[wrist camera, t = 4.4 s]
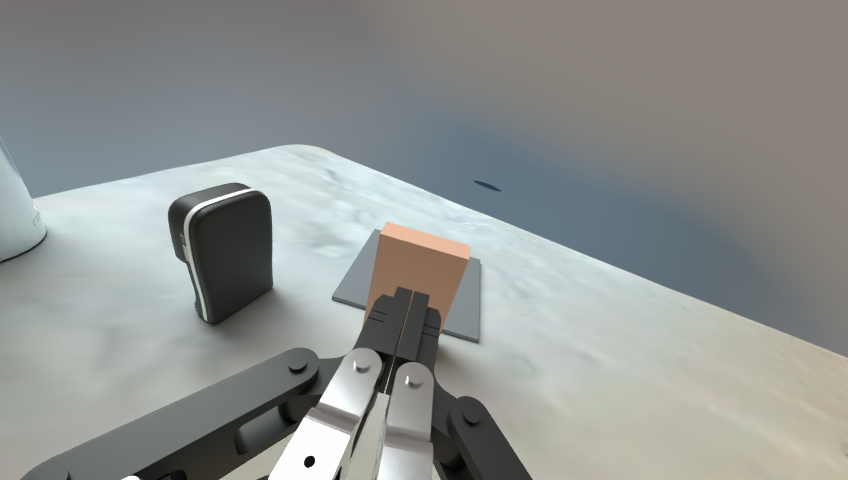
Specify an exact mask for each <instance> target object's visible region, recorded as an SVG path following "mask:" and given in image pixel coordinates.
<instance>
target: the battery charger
mask: <svg viewBox="0 0 848 480" xmlns="http://www.w3.org/2000/svg"><path fill="white" fill-rule="evenodd" d="M168 222H169V228H170V233H171V238H172V243H173V246H174V250H175V254H176V256H177V258H179V259H180V260H181V261H183V262H184V263H186V264H187V267H188V270H189V274H190V277H191V280H192V283H193V286H194V290H195V294H196V302H195V308H196V311H197V312H198V313H199V315H200V316H202V317H203V318H204V320H206V321H207V322H211V323H217V322H219V321H220V320H222V319H223V318H225V317H227V316H228V315H230V314H232V313H233V312H235V311H236V310H238V309H239V308H241V307H243V306H244V305H246V304H247V303H249V302H250V301H252V300H253V299H255V298H256V297H258V296H259V295H261V294H262V293H264V292H265V291H266V290H268V289H269V288H271V287H272V286H273V276H272V216H271V206H270V202H269V200H268V198H267V197H266V196H265V195H264V194H263V193H262V192H261V191H259V190H256V189H252V188H250V187H248V186H246V185H244V184H241V183H229V184H224V185H220V186H216V187H212V188H208V189H205V190H201V191H198V192H195V193H191V194H188V195H185V196H183V197H180V198H178V199H177V200H175V201H174V202H173V203H172V205H171V206H170V208H169V211H168Z"/></svg>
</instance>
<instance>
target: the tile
mask: <svg viewBox="0 0 848 480" xmlns="http://www.w3.org/2000/svg"><path fill="white" fill-rule="evenodd" d="M469 253H470V246H468V245H465V244H462V243H458V242H455V241H451V240H448V239H444V238H441V237H438V236H434V235H431V234H427V233H424V232H420V231H417V230H414V229H410V228H407V227H403V226H400V225H396V224H393V223H390V222H386V224H385V226H384V228H383V229H382V231H381V233H380V236H379V241H378V247H377V252H376V257H375V263H374V268H373V274H372V279H371V285H370V290H369V295H368V301H367V306H366V312H365V317H364V323H363V326H364V324H365V322H366V320H367V318H368V315H369V313H370V311H371V308H372V306H373V304H374V302H375V300H376V299H378V298H379V297H380V296H381V295H383V294H385V295H388V296H392V297H394V294H395V292H396V289H397V287H398V286H399V287H403V288H406V289H410V290H413V293H412V297H411V301H412V298H413V294H414V291H417V292H421V293H424V294H428V295H430V297H429V302H428V306H427V307H431V308H434V309H438V310H439V313H440V316H441V319H442V320H441V327H440V333H441V331H442V328H443V326H444V323H445V320H446V318H447V315H448V313H449V310H450V308H451V305H452V302H453V300H454V297H455V295H456V292H457V289H458V287H459V284H460V282H461V279H462V277H463V274H464V271H465V269H466V266H467V264H468V261H469ZM411 301H410V304H411ZM410 304H409V308H410ZM409 308H408V311H409ZM407 315H408V312H407ZM406 318H407V316H406ZM405 321H406V319H405ZM404 325H405V323H404ZM403 328H404V326H403ZM402 332H403V330H402ZM440 333H439V336H440ZM401 335H402V333H401ZM400 338H401V336H400ZM399 342H400V340H399ZM398 345H399V343H398ZM397 348H398V347H397Z"/></svg>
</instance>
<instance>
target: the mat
mask: <svg viewBox="0 0 848 480" xmlns="http://www.w3.org/2000/svg"><path fill="white" fill-rule="evenodd" d="M380 233H381V231H380V230H377V229H375V230H374V231H373V233H372V234H371V236H370V237H369V239H368V241H367V242H366V244H365V245H364V247H363V248H362V250H361V251H360V253H359V255H358V256H357V258H356V259H355V261H354V262H353V264H352V266H351V267H350V269H349V270H348V272H347V273H346V275H345V277H344V278H343V280H342V281H341V283H340V284H339V286H338V288H337V289H336V291H335V292H334V294H333V295H332V300H335V301H339V302H342V303H345V304H349V305H352V306H356V307H359V308H362V309H366V306H367V301H368V295H369V290H370V285H371V279H372V274H373V268H374V263H375V257H376V252H377V247H378V241H379V236H380ZM479 290H480V260H479V259H476V258H472V257H469V261H468V264H467V266H466V269H465V271H464V274H463V277H462V279H461V282H460V284H459V287H458V289H457V292H456V295H455V297H454V300H453V302H452V305H451V308H450V310H449V313H448V315H447V318H446V320H445V323H444V326H443V328H442V331H441V332H443V333H446V334H449V335H453V336H456V337H459V338H463V339H466V340H469V341H473V342H476V343H477V342H478V340H479Z"/></svg>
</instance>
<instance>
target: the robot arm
mask: <svg viewBox="0 0 848 480" xmlns="http://www.w3.org/2000/svg"><path fill="white" fill-rule="evenodd" d="M45 234H46V227H45V225H44V223H43V221H42V219H41V217H40V214H39V212H38V210H37V208H36V206H35V205H34V203H33V201H32V199H31V197H30V195H29V193H28V191H27V189H26V187H25V185H24V183H23V181H22V179H21V177H20V175H19V173H18V171H17V169H16V167H15V165H14V163H13V161H12V159H11V157H10V155H9V153H8V151H7V149H6V147H5V145H4V143H3V141H2V139H1V137H0V261H2V260H5V259H8V258H11V257H13V256H16V255H18V254H20V253H22V252H24V251H27V250H29V249H30V248H32V247H33V246H35V245H36V244H38V243H39V242H40V241H41V240H42V239H43V238H44V236H45ZM412 293H413V290H410V289H406V288H403V287H399V286H398V287H397V289H396V292H395V294H394V297H392V296H388V295H385V294H383V295H381V296H380V297H379V298H378V299H376V300H375V302H374V304H373V306H372V308H371V311H370V313H369V315H368V318H367V320H366V322H365V324H364V326H363V328H362V331H361V333H360V335H359V337H358V340H357V342H356V344H355V346H354V348H353V349H352V350H351V351H350V352H349V353H347V354H346V355H344V356H342V357H339V358H332V359H318V357H317V355H316V354H315V353H314V352H313V351H312V350H310V349H307V348H295V349H291V350H289V351H286V352H284V353H282V354H280V355H278V356H275V357H273V358H271V359H269V360H267V361H264V362H262V363H260V364H258V365H256V366H253V367H251V368H249V369H247V370H245V371H242V372H240V373H238V374H236V375H234V376H231V377H229V378H227V379H225V380H222V381H220V382H218V383H216V384H214V385H211V386H209V387H207V388H205V389H203V390H200V391H198V392H196V393H194V394H192V395H189V396H187V397H185V398H183V399H181V400H178V401H176V402H174V403H172V404H170V405H167V406H165V407H163V408H161V409H159V410H156V411H154V412H152V413H150V414H148V415H145V416H143V417H141V418H139V419H136V420H134V421H132V422H130V423H128V424H125V425H123V426H121V427H119V428H117V429H114V430H112V431H110V432H108V433H106V434H103V435H101V436H99V437H97V438H95V439H92V440H90V441H88V442H86V443H84V444H81V445H79V446H77V447H75V448H73V449H70V450H68V451H66V452H64V453H62V454H59V455H57V456H55V457H53V458H51V459H49V460H47V461H45V462H43V463H41V464H40V465H38V466H36V467H35V468H34V469H32V470H31V471H29V472H28V473H27V474H26V475H25V476H23V477H22V478H21V479H20V480H219V479H220V478H222V477H224V476H225V475H227V474H228V473H230V472H231V471H233V470H235V469H236V468H238V467H239V466H241V465H242V464H244V463H246V462H247V461H249V460H250V459H252V458H254V457H255V456H257V455H258V454H260V453H261V452H263V451H265V450H266V449H268V448H269V447H271V446H272V445H274V444H276V443H277V442H279V441H280V440H282V439H284V438H285V437H287V436H288V435H290V434H291V433H293V432H295V431H296V430H297V431H296V433H295V434H294V436H293V438H292V440H291V441H290V443H289V445H288V446H287V448H286V450H285V451H284V453H283V455H282V457H281V458H280V460H279V462H278V463H277V465H276V467H275V469H274V470H273V472H272V474H271V475H267V476H264V477H262V478H260V479H257V480H345V478H346V475H347V472H348V469H349V466H350V463H351V461H352V458H353V456H354V453H355V451H356V448H357V446H358V443H359V441H360V438H361V436H362V433H363V431H364V428H365V426H366V423H367V421H368V418H369V416H370V413H371V410H372V409H373V407H374V404H375V401H376V398H377V395H378V392H380V393H383V394H384V390H385V387H386V384H387V380H388V377H389V374H390V370H391V367H392V363H393V360H394V363H393V367H392V370H391V374H390V378H389V382H388V385H387V389H386V393H385V394H387V395H390V397H389V401H388V404H387V408H386V412H385V415H384V420H383V425H382V430H381V435H380V440H379V445H378V450H377V455H376V460H375V465H374V470H373V475H372V479H371V480H432V466H433V464H434V466H435V468H436V470H437V472H438V474H439V477H440V479H441V480H533V479H532V478H531V476H530V475H529V473H528V472H527V470H526V469H525V467H524V466H523V464H522V463H521V461H520V460H519V458H518V457H517V455H516V453H515V452H514V450H513V449H512V447H511V446H510V444H509V443H508V441H507V440H506V438H505V437H504V435H503V434H502V432H501V430H500V429H499V427H498V426H497V424H496V423H495V421H494V420H493V418H492V417H491V415H490V414H489V412H488V411H487V409H486V408H485V406H484V405H483V404H482V403H481V402H480V401H478V400H477V399H475V398H472V397H469V396H463V397H459V398H455V397H454V396H452V395H451V394H449V393H448V392H446V391H445V390H444V389H442V388H441V386H440V385H439V384H438V382H437V381H436V378H435V375H434V365H435V359H436V352H437V346H438V338H439V333H440V327H441V320H442V319H441V316H440V313H439V310H438V309H434V308H431V307H427V306H428V302H429V297H430V295H428V294H424V293H421V292H417V291H414V294H413V298H412V301H411V297H412ZM410 301H411V304H410ZM409 304H410V308H409ZM408 308H409V311H408ZM407 312H408V315H407ZM406 316H407V318H406ZM405 319H406V321H405ZM404 323H405V325H404ZM403 326H404V328H403ZM402 330H403V332H402ZM401 333H402V335H401ZM400 336H401V338H400ZM399 340H400V342H399ZM398 343H399V345H398ZM397 347H398V348H397ZM396 350H397V352H396ZM395 353H396V355H395ZM394 357H395V359H394Z"/></svg>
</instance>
